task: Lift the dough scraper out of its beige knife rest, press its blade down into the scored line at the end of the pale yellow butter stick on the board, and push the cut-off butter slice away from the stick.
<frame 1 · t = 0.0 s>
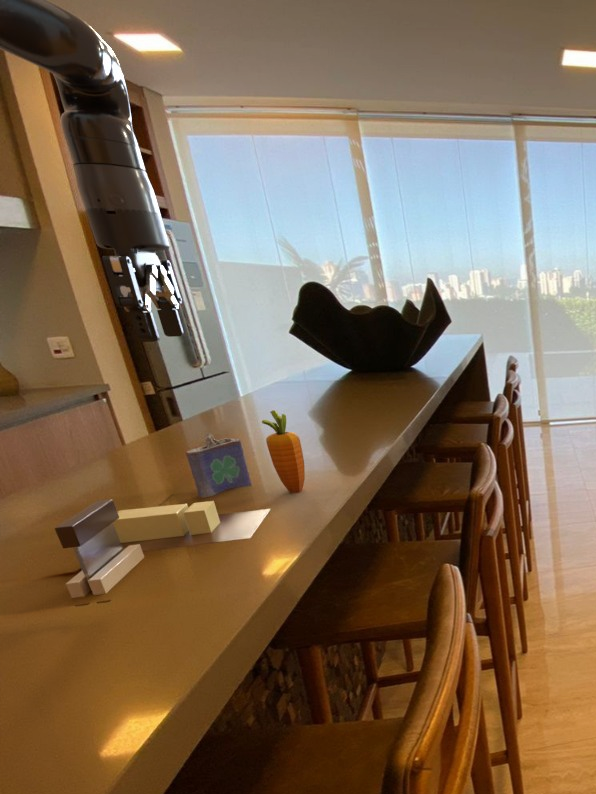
hand: (162, 338, 79), 27 cm above the counter, tool pointing down, fingers open, 8 cm apart
board: (191, 538, 82), on the counter
carrot: (297, 498, 97), on the counter
butter slice: (206, 528, 82), point 1 cm above the counter, touching board
dough scraper: (114, 584, 69), on the counter
knife rest: (113, 584, 69), on the counter
flask: (227, 495, 99), on the counter
butter: (156, 534, 80), point 1 cm above the counter, touching board
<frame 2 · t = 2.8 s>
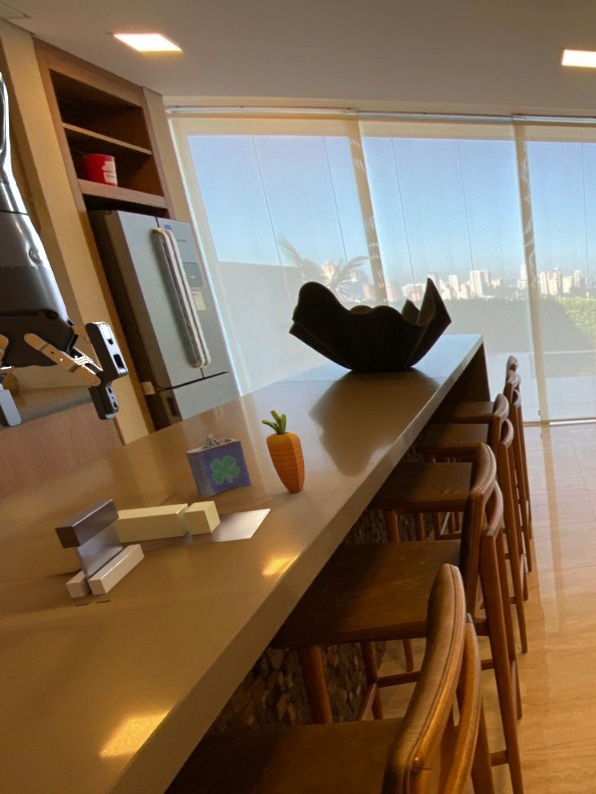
hand: (61, 421, 63), 20 cm above the counter, tool pointing down, fingers open, 8 cm apart
nothing on the counter moved.
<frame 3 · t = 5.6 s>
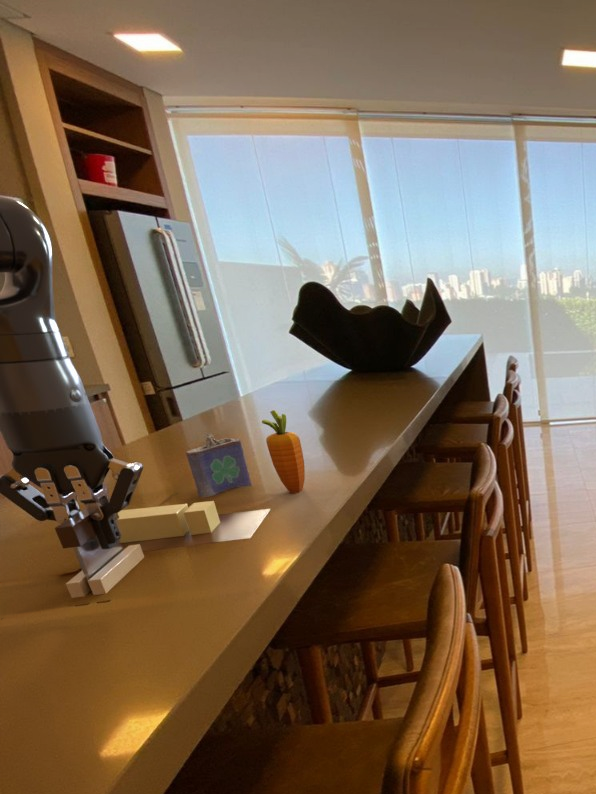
hand: (98, 547, 67), 5 cm above the counter, tool pointing down, fingers closed on dough scraper, 1 cm apart
dough scraper: (113, 584, 69), on the counter, touching gripper
everything else where it was.
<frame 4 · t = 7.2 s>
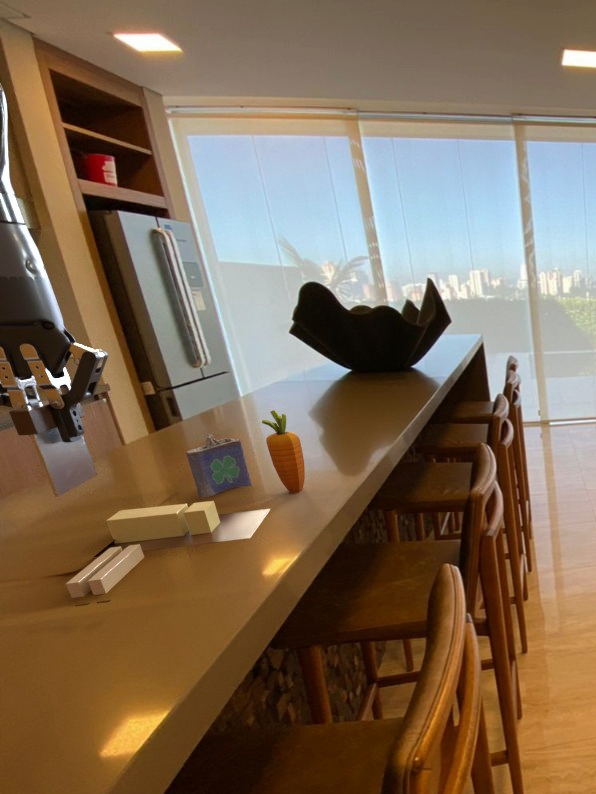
hand: (60, 441, 63), 18 cm above the counter, tool pointing down, fingers closed on dough scraper
dough scraper: (77, 485, 65), point 13 cm above the counter, touching gripper
everything else where it was.
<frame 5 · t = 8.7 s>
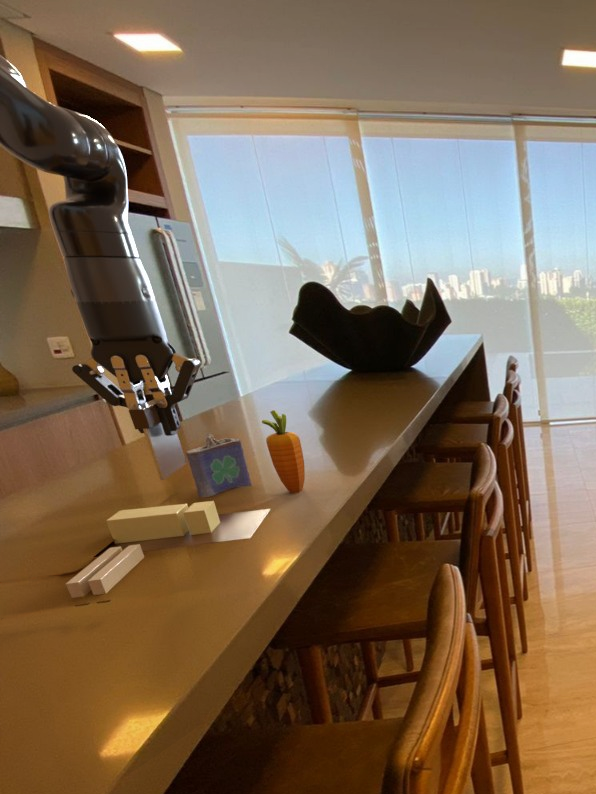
hand: (161, 434, 76), 15 cm above the counter, tool pointing down, fingers closed on dough scraper
dough scraper: (174, 471, 78), point 10 cm above the counter, touching gripper
everything else where it was.
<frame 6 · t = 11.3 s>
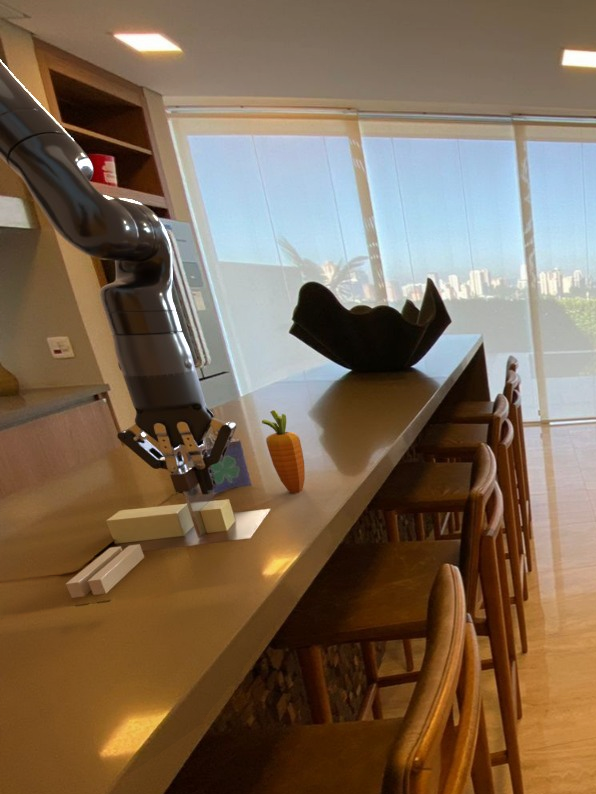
hand: (198, 493, 80), 7 cm above the counter, tool pointing down, fingers closed on dough scraper, 1 cm apart
butter slice: (221, 526, 82), point 1 cm above the counter, touching dough scraper
dough scraper: (209, 527, 82), point 1 cm above the counter, touching butter slice, gripper
everything else where it was.
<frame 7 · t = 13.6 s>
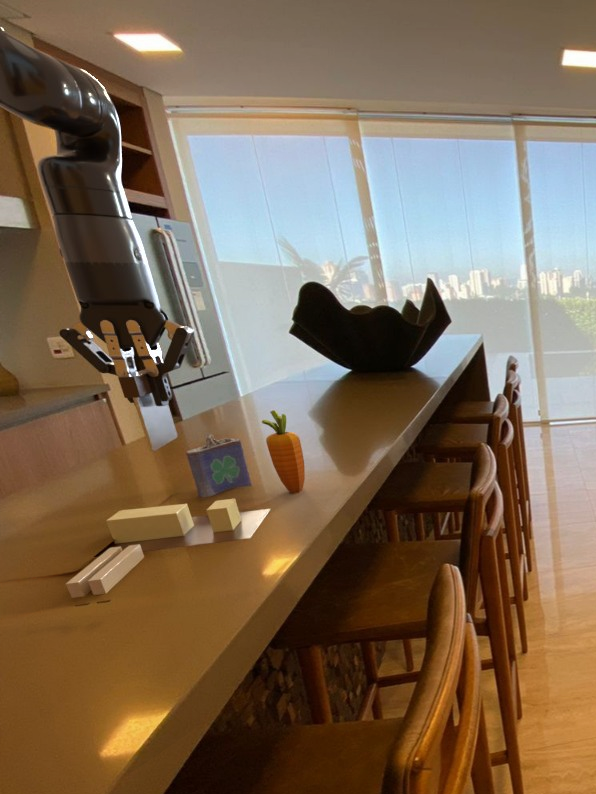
hand: (152, 405, 73), 20 cm above the counter, tool pointing down, fingers closed on dough scraper
butter slice: (227, 526, 83), point 1 cm above the counter, touching board
dough scraper: (164, 444, 75), point 14 cm above the counter, touching gripper
everything else where it was.
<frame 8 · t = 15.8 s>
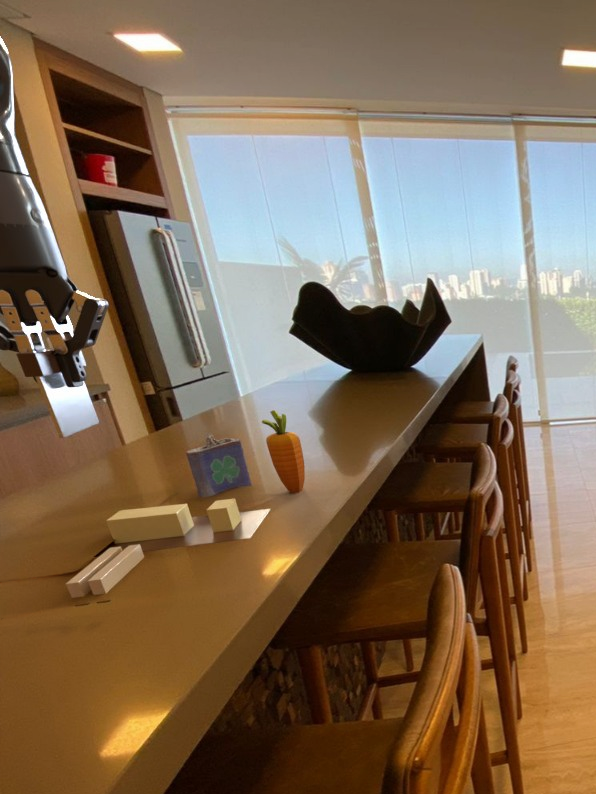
hand: (63, 386, 66), 23 cm above the counter, tool pointing down, fingers closed on dough scraper
dough scraper: (80, 430, 68), point 18 cm above the counter, touching gripper
everything else where it was.
at the end: butter slice 1.3 cm from the target spot on the counter beside the butter, resting on board; butter moved 0.0 cm from its start; the gripper is holding dough scraper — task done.
